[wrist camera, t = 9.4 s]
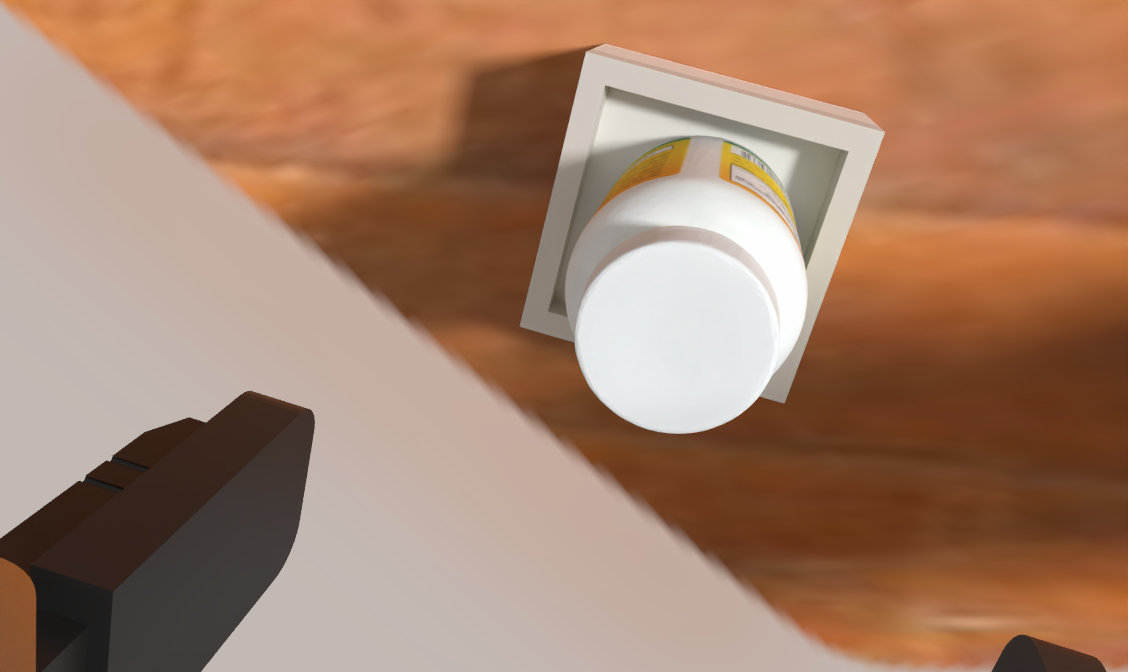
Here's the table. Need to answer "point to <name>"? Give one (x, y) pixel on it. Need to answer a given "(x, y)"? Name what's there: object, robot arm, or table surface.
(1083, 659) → the robot arm
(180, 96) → the table surface
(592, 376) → the supplement bottle
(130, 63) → the table surface
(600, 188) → the grey open box
